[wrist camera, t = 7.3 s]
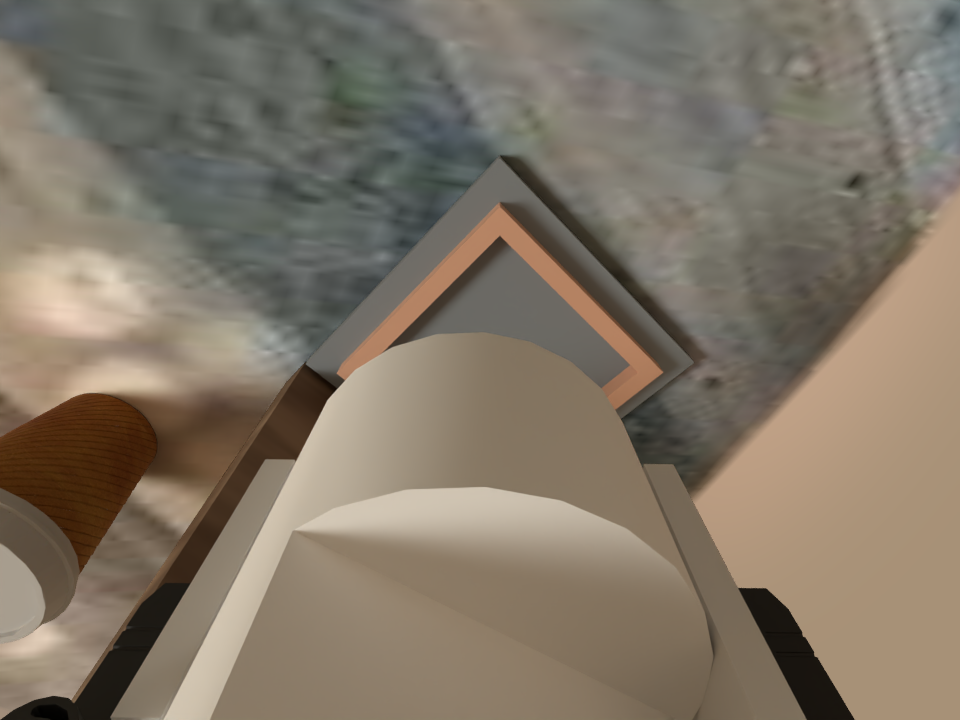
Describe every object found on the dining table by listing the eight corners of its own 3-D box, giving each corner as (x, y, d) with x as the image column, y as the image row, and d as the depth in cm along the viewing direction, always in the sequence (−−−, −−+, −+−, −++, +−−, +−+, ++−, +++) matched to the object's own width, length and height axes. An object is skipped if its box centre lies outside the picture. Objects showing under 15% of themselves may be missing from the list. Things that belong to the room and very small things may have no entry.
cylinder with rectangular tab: (699, 447, 15) (1263, 1350, 4) (504, 634, 18) (538, 1424, 7) (420, 261, 13) (82, 1141, 2) (253, 510, 16) (-226, 1373, 5)
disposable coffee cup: (45, 344, 33) (-167, 469, 22) (200, 411, 35) (73, 555, 24) (21, 457, 37) (-170, 609, 26) (162, 511, 39) (38, 673, 28)
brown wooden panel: (325, 340, 33) (-793, 2104, 4) (513, 490, 38) (591, 1780, 9) (286, 382, 34) (-769, 1941, 6) (472, 522, 39) (427, 1733, 10)
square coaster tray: (499, 155, 28) (500, 160, 26) (688, 354, 33) (701, 372, 31) (310, 356, 33) (299, 373, 31) (497, 502, 38) (498, 525, 36)
